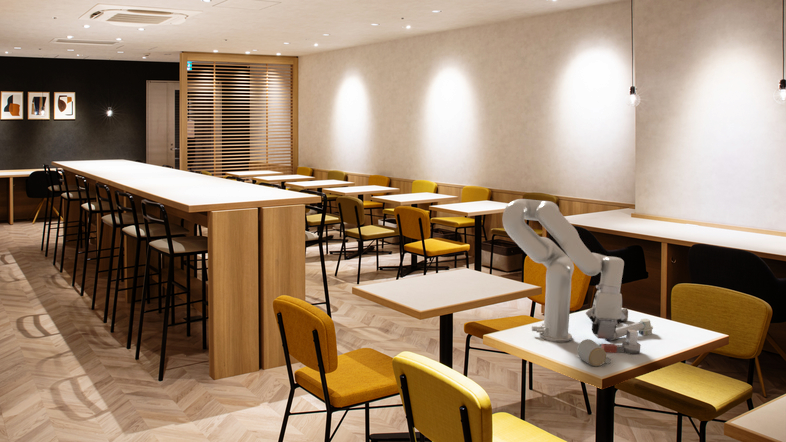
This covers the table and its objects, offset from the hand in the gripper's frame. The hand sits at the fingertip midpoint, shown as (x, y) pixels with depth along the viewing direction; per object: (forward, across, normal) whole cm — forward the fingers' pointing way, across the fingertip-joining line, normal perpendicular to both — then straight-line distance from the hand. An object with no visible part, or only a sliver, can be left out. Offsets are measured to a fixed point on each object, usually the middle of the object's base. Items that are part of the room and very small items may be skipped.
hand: (603, 333), depth 234 cm
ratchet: (+4, +4, -9) cm, 10 cm away
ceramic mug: (+5, -10, -21) cm, 24 cm away
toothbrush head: (+4, +15, +10) cm, 18 cm away
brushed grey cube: (+1, 0, 0) cm, 1 cm away
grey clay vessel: (+4, +14, +29) cm, 33 cm away
